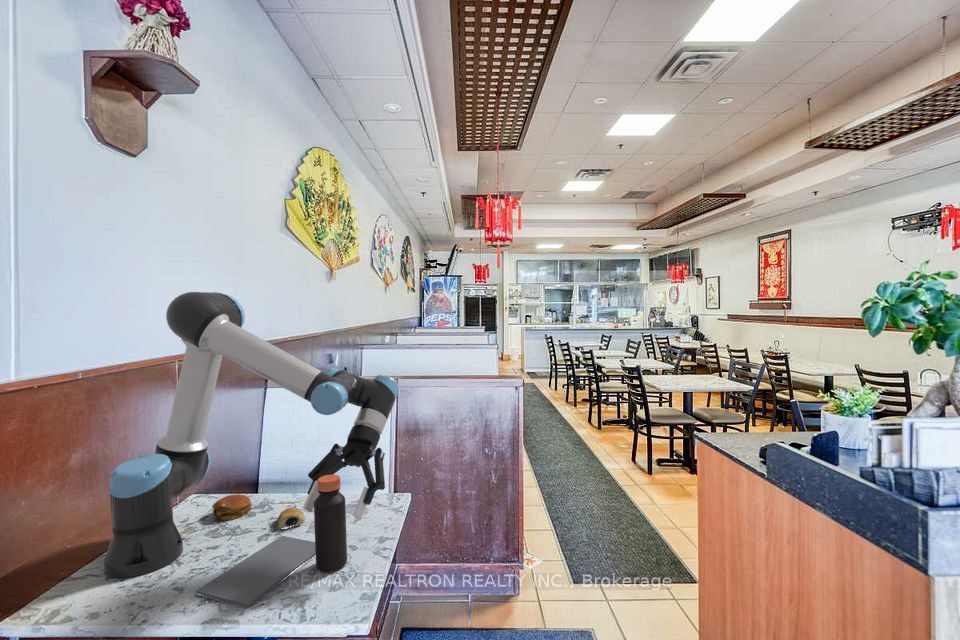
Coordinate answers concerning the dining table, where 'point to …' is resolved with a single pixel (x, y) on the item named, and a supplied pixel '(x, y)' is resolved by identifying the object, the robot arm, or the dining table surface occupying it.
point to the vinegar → (330, 525)
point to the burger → (232, 507)
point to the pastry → (290, 517)
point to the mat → (259, 572)
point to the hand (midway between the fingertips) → (331, 514)
